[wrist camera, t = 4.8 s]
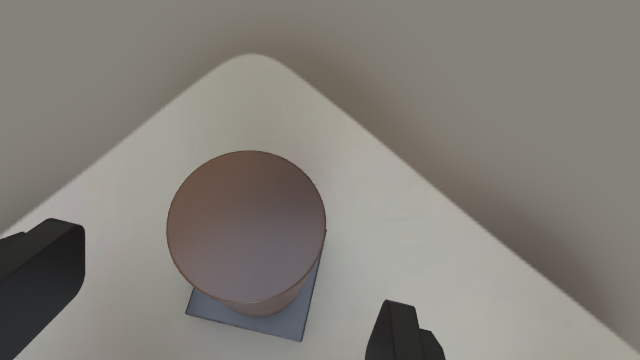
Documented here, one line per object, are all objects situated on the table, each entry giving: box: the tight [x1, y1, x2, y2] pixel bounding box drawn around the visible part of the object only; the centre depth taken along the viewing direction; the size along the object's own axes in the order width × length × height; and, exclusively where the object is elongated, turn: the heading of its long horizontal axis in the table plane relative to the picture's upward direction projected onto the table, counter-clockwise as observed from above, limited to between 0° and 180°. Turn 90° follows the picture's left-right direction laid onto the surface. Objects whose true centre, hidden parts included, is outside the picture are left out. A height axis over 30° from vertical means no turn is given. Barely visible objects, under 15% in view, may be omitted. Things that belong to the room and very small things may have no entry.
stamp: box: [166, 151, 327, 342], centre depth 15 cm, size 5×5×10 cm
